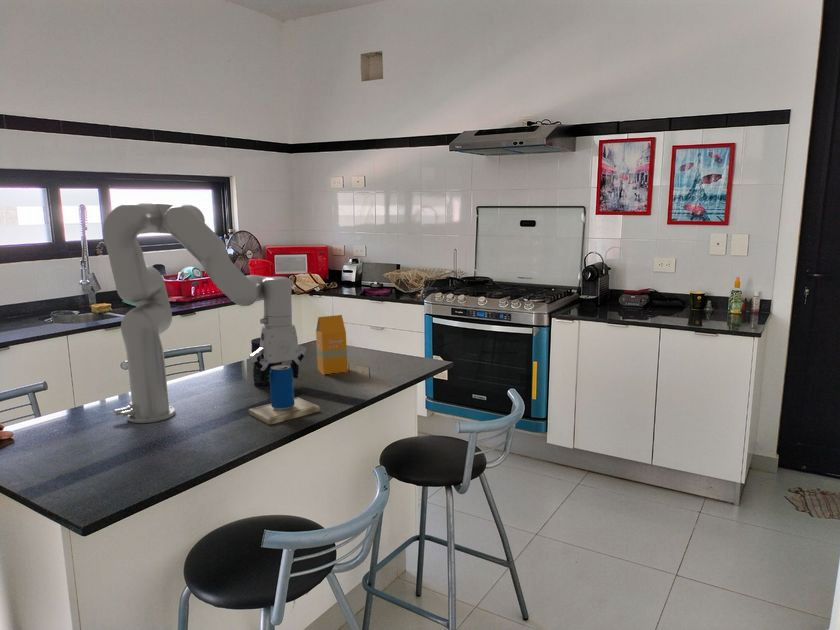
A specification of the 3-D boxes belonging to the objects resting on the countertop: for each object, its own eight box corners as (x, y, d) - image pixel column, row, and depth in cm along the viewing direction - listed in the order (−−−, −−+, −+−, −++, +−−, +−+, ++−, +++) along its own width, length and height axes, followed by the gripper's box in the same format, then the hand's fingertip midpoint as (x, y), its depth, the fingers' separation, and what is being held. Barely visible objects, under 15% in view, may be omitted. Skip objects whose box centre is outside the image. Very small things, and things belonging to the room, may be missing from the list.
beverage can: (292, 410, 175) (289, 369, 173) (269, 411, 175) (266, 369, 173) (296, 403, 182) (294, 363, 180) (274, 404, 182) (272, 364, 180)
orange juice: (317, 370, 224) (314, 315, 220) (341, 367, 228) (338, 313, 224) (323, 375, 217) (321, 319, 213) (347, 372, 221) (345, 316, 217)
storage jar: (276, 388, 202) (273, 343, 200) (248, 387, 204) (245, 342, 202) (288, 380, 212) (286, 337, 209) (261, 378, 214) (259, 336, 211)
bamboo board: (269, 424, 169) (268, 419, 169) (248, 414, 178) (248, 408, 178) (319, 411, 180) (319, 405, 179) (298, 401, 188) (297, 396, 188)
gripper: (255, 326, 166) (257, 388, 169) (312, 319, 177) (312, 378, 180) (243, 322, 171) (244, 382, 174) (298, 315, 182) (299, 372, 185)
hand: (279, 380), depth 177 cm, fingers open, 9 cm apart
